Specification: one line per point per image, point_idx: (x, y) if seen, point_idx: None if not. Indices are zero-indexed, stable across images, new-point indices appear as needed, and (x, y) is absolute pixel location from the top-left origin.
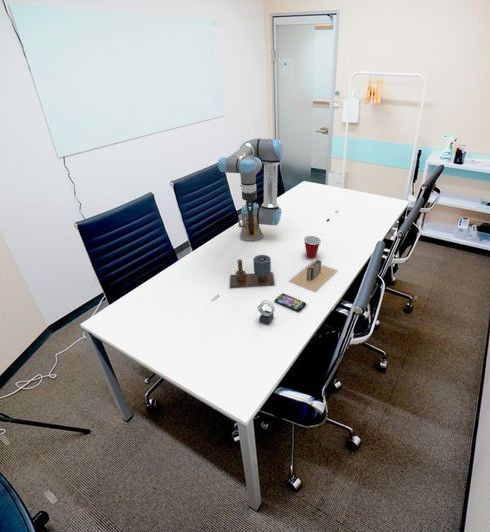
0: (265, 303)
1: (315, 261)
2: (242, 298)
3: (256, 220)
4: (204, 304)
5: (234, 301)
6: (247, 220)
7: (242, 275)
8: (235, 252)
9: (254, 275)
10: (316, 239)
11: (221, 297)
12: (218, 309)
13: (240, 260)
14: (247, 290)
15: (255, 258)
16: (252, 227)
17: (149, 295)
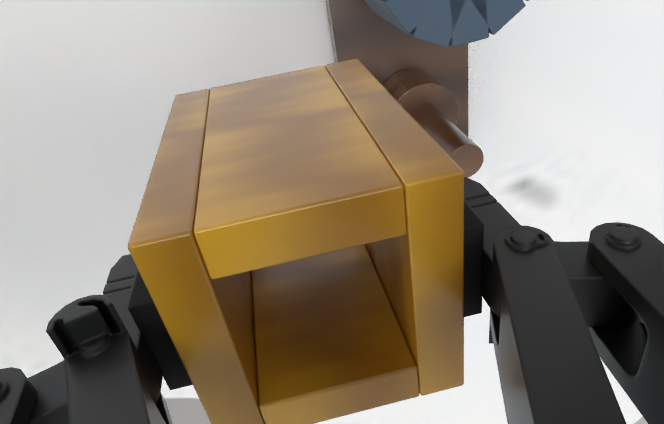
0: None
1: None
2: (566, 56)
3: (362, 198)
4: (571, 223)
5: (582, 95)
6: (254, 360)
7: (455, 99)
8: (40, 211)
9: (360, 16)
10: None
11: (535, 167)
12: (622, 156)
13: (469, 155)
14: (496, 39)
15: (447, 26)
16: (498, 203)
17: (476, 407)
